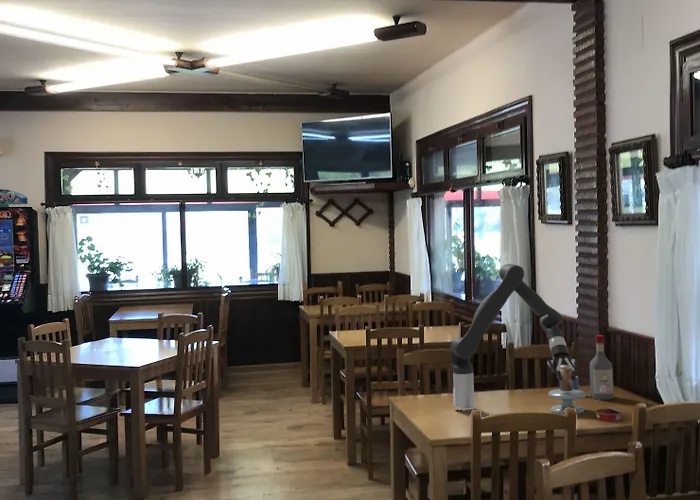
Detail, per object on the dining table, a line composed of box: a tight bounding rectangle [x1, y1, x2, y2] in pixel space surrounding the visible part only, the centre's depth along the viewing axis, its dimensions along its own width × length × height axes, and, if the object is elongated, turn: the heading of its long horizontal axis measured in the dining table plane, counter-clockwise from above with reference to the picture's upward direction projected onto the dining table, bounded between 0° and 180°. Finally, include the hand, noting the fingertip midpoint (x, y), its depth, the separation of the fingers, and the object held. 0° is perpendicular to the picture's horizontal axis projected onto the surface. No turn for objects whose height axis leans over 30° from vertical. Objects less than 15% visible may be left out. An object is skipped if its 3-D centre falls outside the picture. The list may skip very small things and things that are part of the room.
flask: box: [558, 375, 580, 390], centre depth 345 cm, size 9×3×11 cm, turn 78°
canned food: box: [595, 399, 621, 422], centre depth 300 cm, size 11×10×10 cm
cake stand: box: [548, 388, 586, 415], centre depth 315 cm, size 16×16×8 cm
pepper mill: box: [560, 364, 573, 391], centre depth 315 cm, size 5×5×11 cm
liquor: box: [589, 334, 614, 401], centre depth 336 cm, size 9×9×30 cm
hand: (567, 379), depth 313 cm, fingers closed on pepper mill, 5 cm apart
